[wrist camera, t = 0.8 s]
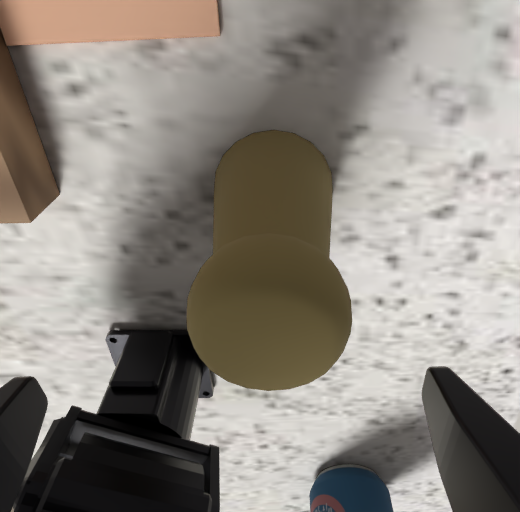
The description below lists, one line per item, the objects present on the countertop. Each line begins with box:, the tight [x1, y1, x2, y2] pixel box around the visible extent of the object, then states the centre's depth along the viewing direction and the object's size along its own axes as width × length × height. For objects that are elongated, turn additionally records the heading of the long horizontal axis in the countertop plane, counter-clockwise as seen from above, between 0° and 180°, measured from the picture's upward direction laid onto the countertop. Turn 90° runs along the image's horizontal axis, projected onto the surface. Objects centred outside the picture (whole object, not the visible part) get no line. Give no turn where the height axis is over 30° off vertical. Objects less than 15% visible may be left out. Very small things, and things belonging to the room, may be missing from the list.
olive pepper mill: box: [186, 130, 352, 391], centre depth 16 cm, size 6×6×11 cm
